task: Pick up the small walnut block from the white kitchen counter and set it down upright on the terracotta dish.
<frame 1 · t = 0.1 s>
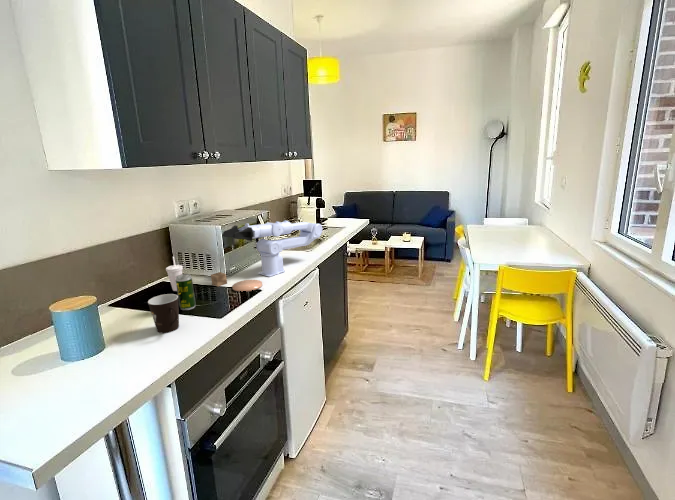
hand: (229, 235, 147), 22 cm above the worktop, tool horizontal, fingers open, 7 cm apart
terracotta dish: (247, 286, 150), on the worktop
walnut block: (219, 284, 155), on the worktop
coffee mug: (168, 330, 114), on the worktop
beer can: (188, 308, 131), on the worktop
smoothie: (177, 289, 150), on the worktop
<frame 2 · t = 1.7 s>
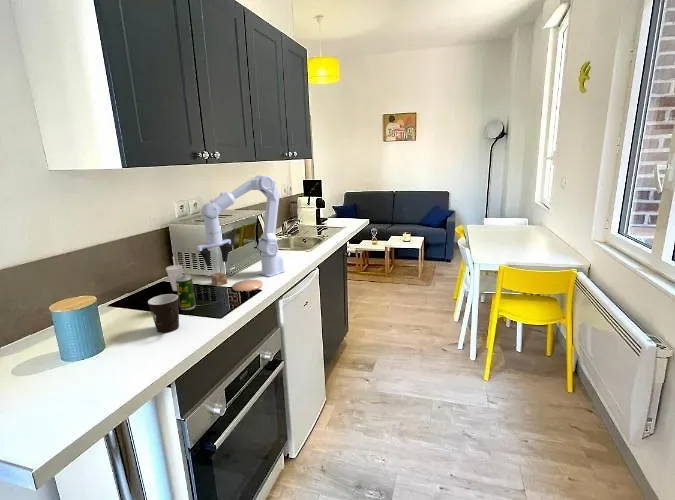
hand: (217, 263, 153), 9 cm above the worktop, tool pointing down, fingers open, 7 cm apart
nothing on the worktop moved.
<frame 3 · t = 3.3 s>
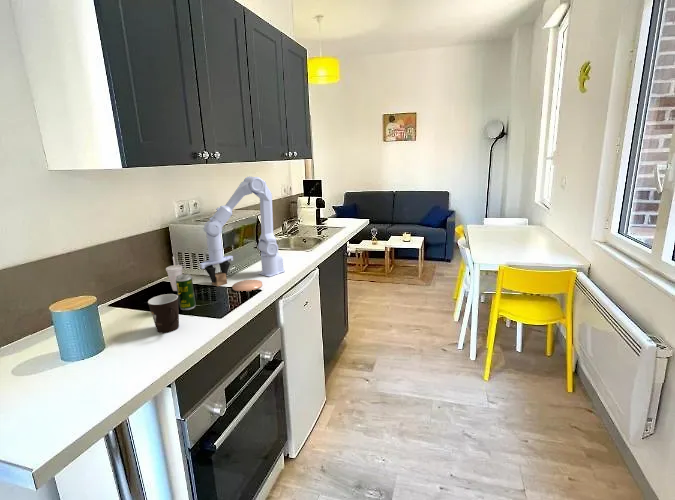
hand: (219, 280, 154), 2 cm above the worktop, tool pointing down, fingers closed on walnut block, 4 cm apart
walnut block: (219, 284, 155), on the worktop, touching gripper
everything else where it was.
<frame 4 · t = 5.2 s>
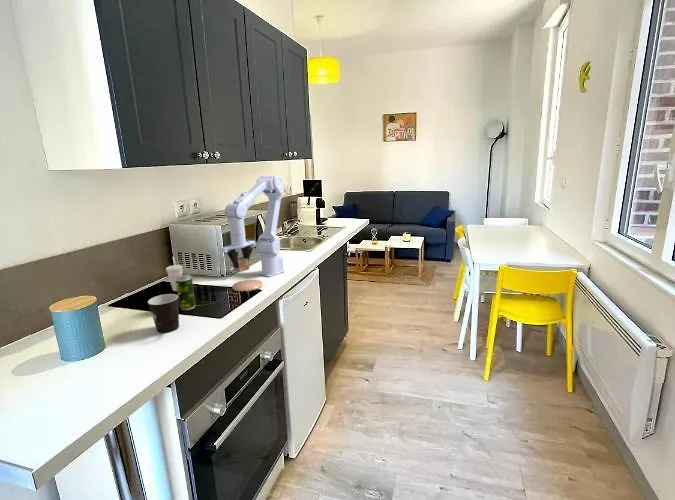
hand: (241, 265, 149), 9 cm above the worktop, tool pointing down, fingers closed on walnut block, 4 cm apart
walnut block: (241, 269, 149), point 7 cm above the worktop, touching gripper
everything else where it was.
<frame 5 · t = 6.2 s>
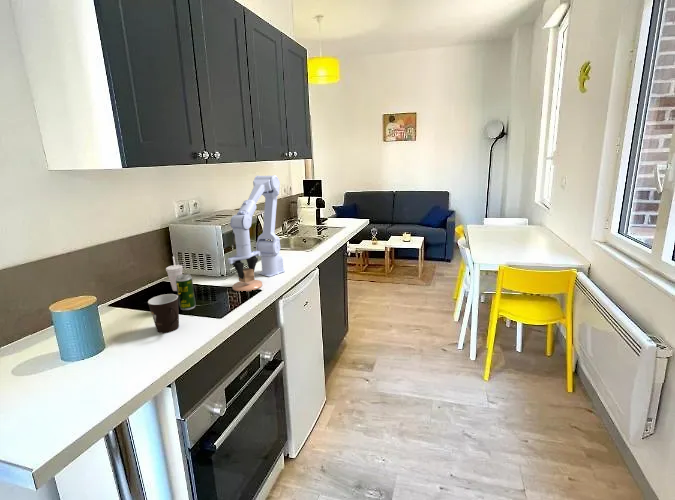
hand: (246, 276, 149), 5 cm above the worktop, tool pointing down, fingers closed on walnut block, 4 cm apart
walnut block: (246, 280, 150), point 3 cm above the worktop, touching gripper
everything else where it was.
when the fingers open (4 cm above the worktop, at t = 7.2 s): walnut block drops 1 cm, resting on terracotta dish.
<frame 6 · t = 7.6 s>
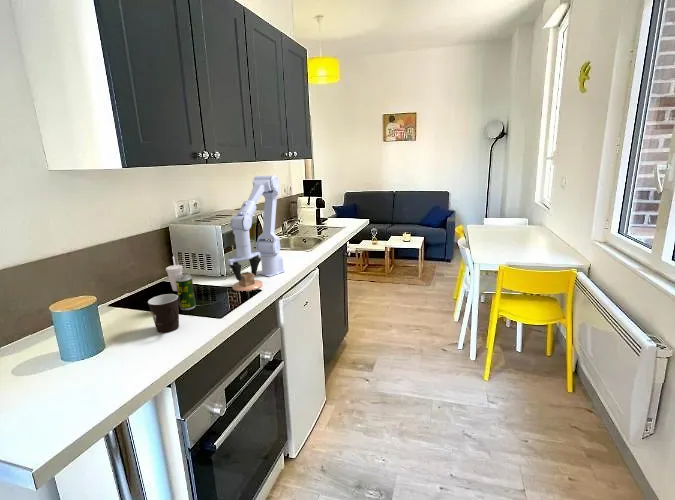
hand: (246, 277, 149), 4 cm above the worktop, tool pointing down, fingers open, 7 cm apart
walnut block: (247, 284, 150), point 1 cm above the worktop, touching terracotta dish
everything else where it was.
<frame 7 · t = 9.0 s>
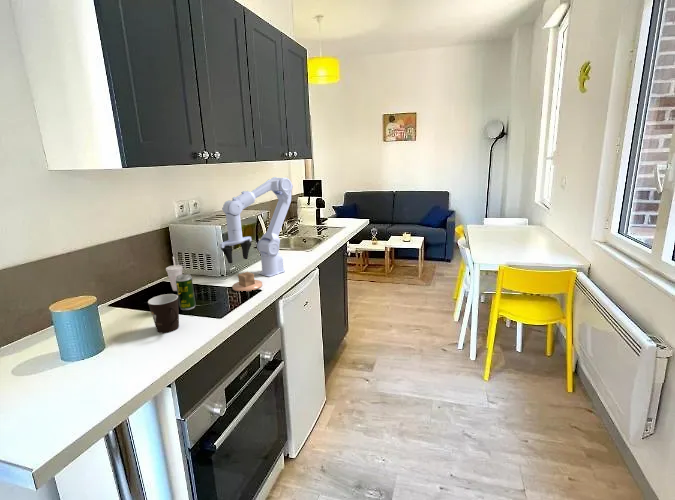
hand: (238, 260, 154), 9 cm above the worktop, tool pointing down, fingers open, 7 cm apart
nothing on the worktop moved.
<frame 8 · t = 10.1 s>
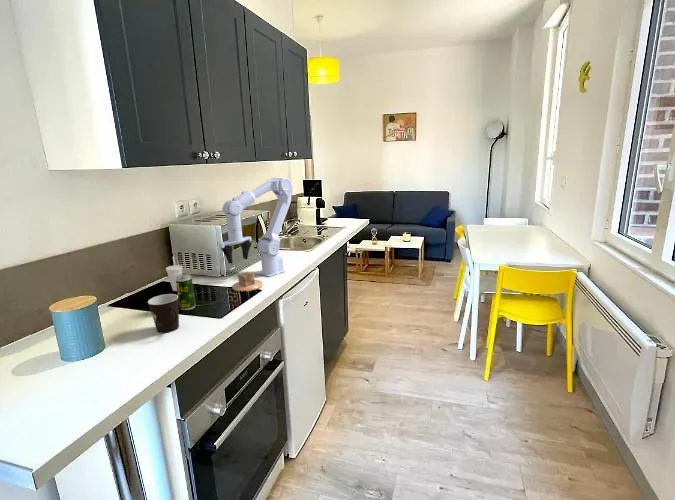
hand: (238, 260, 154), 9 cm above the worktop, tool pointing down, fingers open, 7 cm apart
nothing on the worktop moved.
at the end: walnut block inside the target area on the terracotta dish (0.2 cm from its centre), point 1.0 cm above the terracotta dish's base; walnut block tilted 0°; the gripper is holding nothing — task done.
